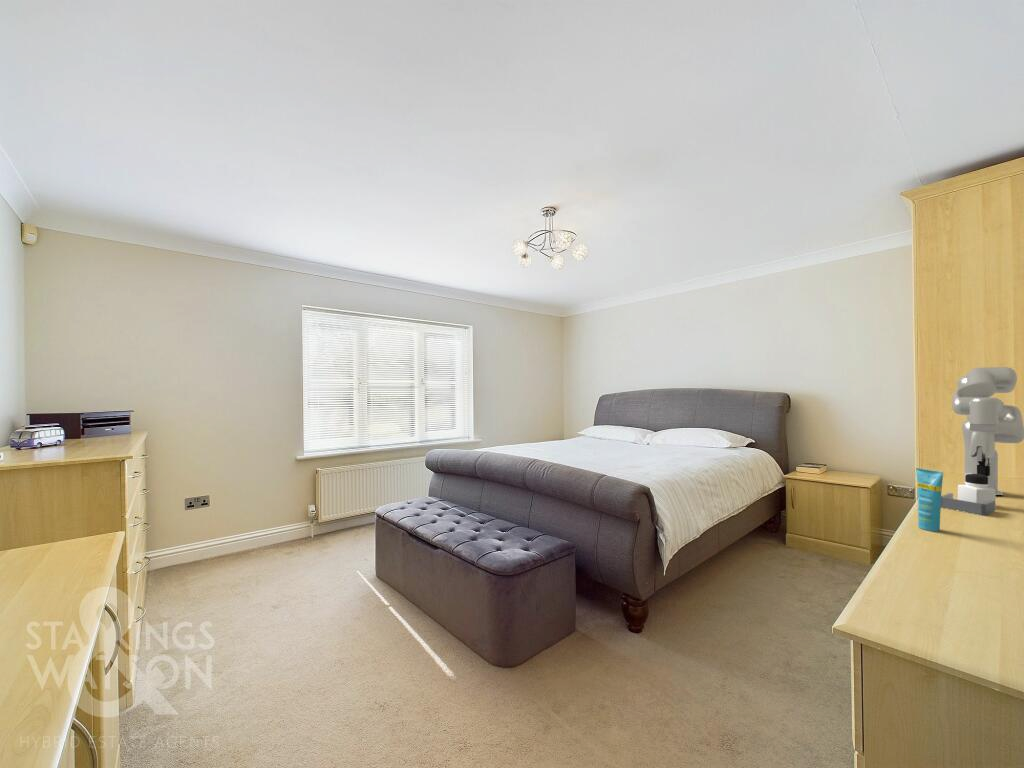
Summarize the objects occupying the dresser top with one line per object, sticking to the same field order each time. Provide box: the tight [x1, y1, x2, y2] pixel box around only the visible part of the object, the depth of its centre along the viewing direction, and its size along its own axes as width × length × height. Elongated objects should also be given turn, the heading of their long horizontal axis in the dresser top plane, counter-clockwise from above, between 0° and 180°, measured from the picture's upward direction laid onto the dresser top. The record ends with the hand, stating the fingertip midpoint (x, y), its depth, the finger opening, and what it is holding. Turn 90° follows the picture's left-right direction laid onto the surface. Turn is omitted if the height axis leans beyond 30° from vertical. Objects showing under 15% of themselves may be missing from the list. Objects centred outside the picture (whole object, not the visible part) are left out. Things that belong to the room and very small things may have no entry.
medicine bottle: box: [957, 473, 996, 504], centre depth 163 cm, size 7×7×12 cm
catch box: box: [941, 492, 996, 517], centre depth 157 cm, size 11×12×4 cm
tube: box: [915, 467, 944, 532], centre depth 136 cm, size 7×5×19 cm, turn 17°
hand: (983, 475), depth 166 cm, fingers closed
